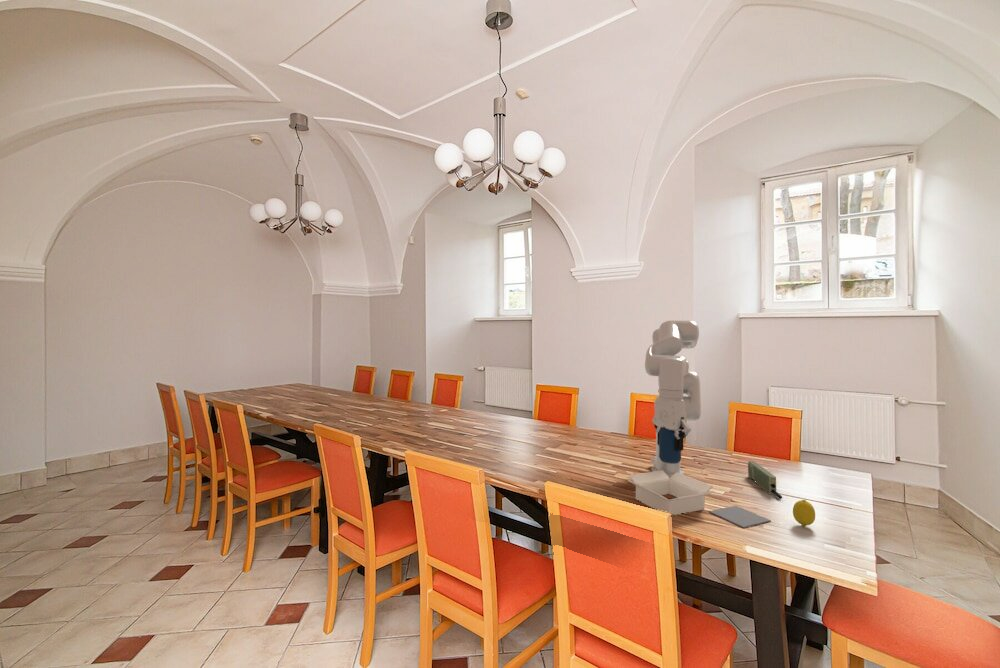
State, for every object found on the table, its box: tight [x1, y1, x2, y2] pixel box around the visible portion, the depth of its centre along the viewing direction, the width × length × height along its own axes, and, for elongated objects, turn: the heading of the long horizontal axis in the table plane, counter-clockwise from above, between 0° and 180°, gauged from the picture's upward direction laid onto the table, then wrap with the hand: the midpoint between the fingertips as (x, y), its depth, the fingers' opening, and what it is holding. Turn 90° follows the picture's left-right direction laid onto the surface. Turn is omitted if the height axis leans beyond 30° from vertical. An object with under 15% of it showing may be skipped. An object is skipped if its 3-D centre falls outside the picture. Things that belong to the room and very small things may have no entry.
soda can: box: [659, 426, 682, 464], centre depth 146 cm, size 7×7×12 cm
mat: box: [709, 505, 772, 529], centre depth 136 cm, size 12×12×1 cm
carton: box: [627, 470, 715, 516], centre depth 146 cm, size 22×22×7 cm
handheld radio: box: [747, 460, 783, 500], centre depth 163 cm, size 7×3×25 cm
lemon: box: [792, 499, 816, 527], centre depth 130 cm, size 6×6×8 cm
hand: (670, 447), depth 146 cm, fingers closed on soda can, 7 cm apart
